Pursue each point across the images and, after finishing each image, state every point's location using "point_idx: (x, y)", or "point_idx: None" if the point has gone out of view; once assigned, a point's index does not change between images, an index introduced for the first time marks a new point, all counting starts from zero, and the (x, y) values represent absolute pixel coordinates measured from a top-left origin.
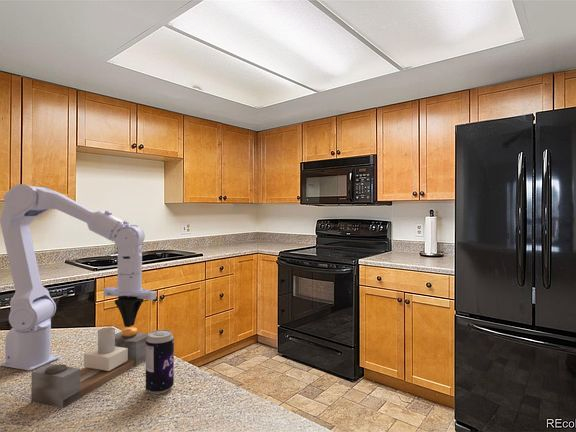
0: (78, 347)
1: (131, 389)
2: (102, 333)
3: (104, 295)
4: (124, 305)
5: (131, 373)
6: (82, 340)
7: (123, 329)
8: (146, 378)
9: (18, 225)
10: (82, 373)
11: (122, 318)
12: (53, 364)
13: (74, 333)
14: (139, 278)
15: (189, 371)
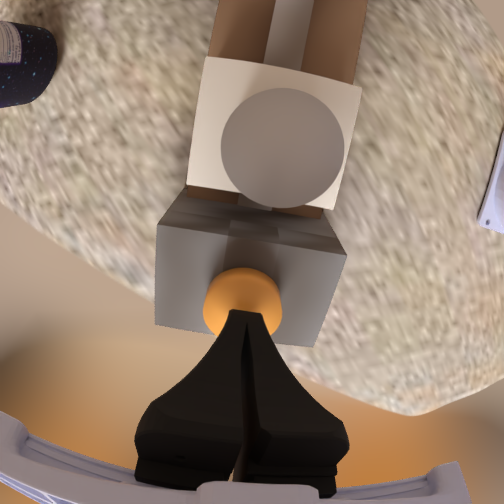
0: (454, 303)
1: (103, 33)
2: (277, 88)
3: (453, 464)
4: (230, 405)
5: (165, 130)
6: (455, 343)
7: (275, 310)
8: (28, 26)
9: None
10: (321, 51)
11: (271, 341)
12: None
13: (479, 369)
14: None
15: (17, 189)
